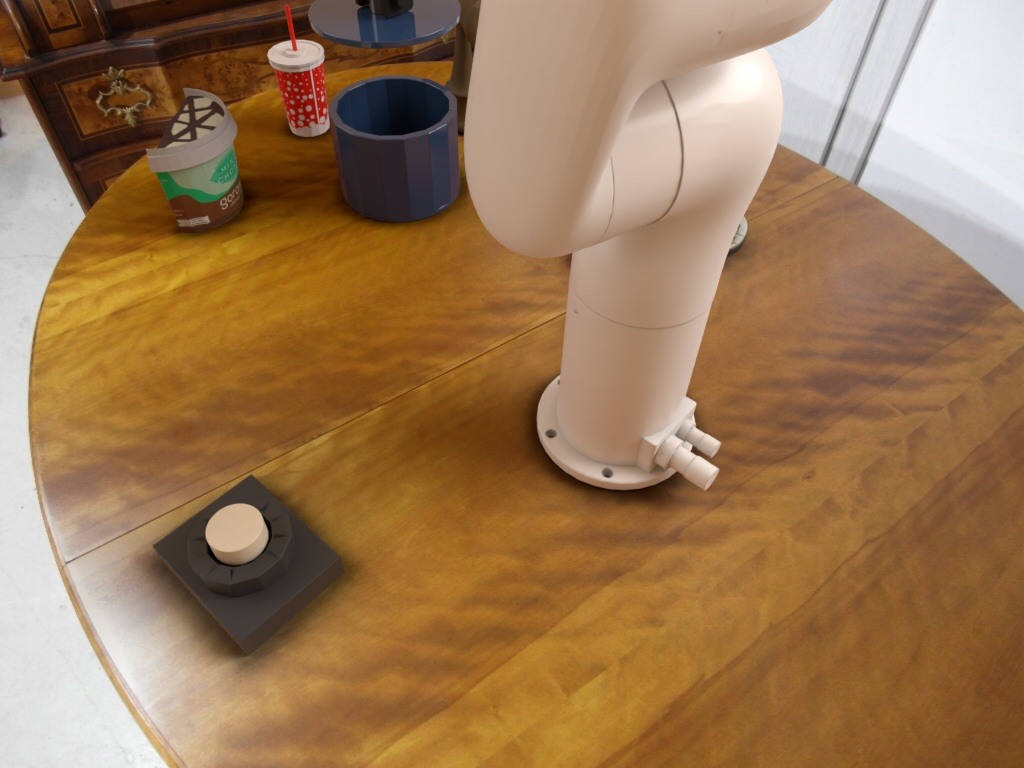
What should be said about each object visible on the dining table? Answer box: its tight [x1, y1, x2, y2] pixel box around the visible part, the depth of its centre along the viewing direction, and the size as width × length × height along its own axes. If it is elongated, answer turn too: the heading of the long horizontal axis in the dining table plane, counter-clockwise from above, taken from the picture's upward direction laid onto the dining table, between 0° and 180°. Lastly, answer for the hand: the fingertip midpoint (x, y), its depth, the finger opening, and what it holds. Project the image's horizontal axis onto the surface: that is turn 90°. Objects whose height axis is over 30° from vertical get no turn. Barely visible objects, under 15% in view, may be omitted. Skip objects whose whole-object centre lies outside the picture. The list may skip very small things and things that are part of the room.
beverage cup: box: [267, 3, 331, 138], centre depth 87 cm, size 6×6×14 cm
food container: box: [145, 87, 245, 233], centre depth 77 cm, size 12×6×10 cm, turn 179°
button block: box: [152, 474, 346, 657], centre depth 52 cm, size 10×8×4 cm
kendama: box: [444, 0, 481, 133], centre depth 85 cm, size 6×10×20 cm, turn 44°
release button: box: [206, 504, 269, 565], centre depth 50 cm, size 4×4×2 cm
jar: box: [328, 74, 461, 223], centre depth 80 cm, size 13×13×10 cm
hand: (384, 5), depth 69 cm, fingers closed on jar lid, 2 cm apart
